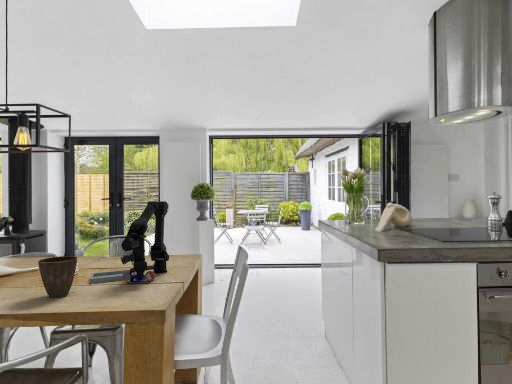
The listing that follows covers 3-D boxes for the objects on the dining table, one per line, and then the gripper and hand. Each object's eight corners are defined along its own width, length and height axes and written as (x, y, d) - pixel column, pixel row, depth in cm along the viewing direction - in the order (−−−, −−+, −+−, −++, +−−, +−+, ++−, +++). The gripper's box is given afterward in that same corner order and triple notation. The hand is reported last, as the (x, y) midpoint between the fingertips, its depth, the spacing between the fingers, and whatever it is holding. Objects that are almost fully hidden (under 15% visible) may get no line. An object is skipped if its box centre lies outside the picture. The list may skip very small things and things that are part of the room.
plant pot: (41, 293, 151) (41, 257, 151) (79, 288, 157) (78, 254, 157) (35, 303, 137) (34, 263, 137) (76, 297, 143) (76, 260, 143)
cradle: (135, 273, 186) (135, 268, 186) (137, 278, 174) (137, 273, 174) (91, 277, 177) (91, 273, 177) (90, 283, 165) (90, 279, 165)
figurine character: (124, 288, 161) (156, 281, 167) (121, 272, 161) (154, 266, 167) (123, 285, 167) (154, 278, 173) (121, 270, 167) (152, 263, 173)
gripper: (120, 246, 172) (120, 276, 172) (122, 252, 155) (122, 285, 155) (143, 244, 177) (143, 274, 177) (147, 250, 160) (147, 282, 160)
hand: (139, 279), depth 167 cm, fingers closed on figurine character, 7 cm apart
